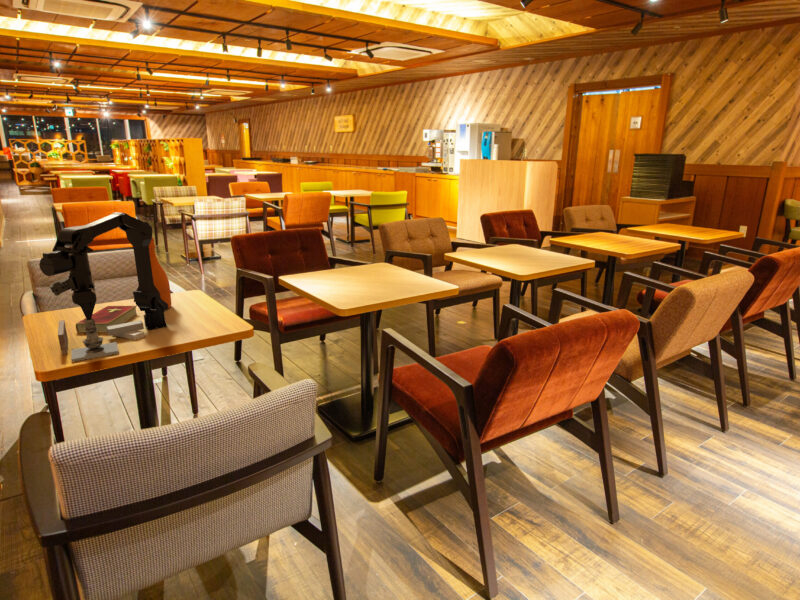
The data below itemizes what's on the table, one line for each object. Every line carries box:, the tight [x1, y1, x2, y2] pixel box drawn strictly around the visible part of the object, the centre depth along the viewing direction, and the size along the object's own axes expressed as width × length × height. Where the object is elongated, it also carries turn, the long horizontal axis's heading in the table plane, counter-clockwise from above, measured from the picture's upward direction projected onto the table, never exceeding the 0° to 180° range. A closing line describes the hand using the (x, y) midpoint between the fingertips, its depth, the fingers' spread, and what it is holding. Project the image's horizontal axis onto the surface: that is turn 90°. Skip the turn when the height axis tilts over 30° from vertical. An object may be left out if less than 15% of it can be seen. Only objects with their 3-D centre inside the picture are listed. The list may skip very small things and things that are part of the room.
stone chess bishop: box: [82, 318, 104, 353], centre depth 161 cm, size 6×6×12 cm
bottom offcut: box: [115, 330, 145, 341], centre depth 178 cm, size 4×12×2 cm, turn 66°
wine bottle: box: [149, 236, 172, 309], centre depth 204 cm, size 10×10×30 cm
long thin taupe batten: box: [57, 319, 69, 356], centre depth 167 cm, size 2×16×7 cm, turn 32°
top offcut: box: [106, 319, 145, 337], centre depth 177 cm, size 4×11×2 cm, turn 130°
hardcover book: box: [75, 305, 138, 333], centre depth 190 cm, size 12×21×4 cm, turn 1°
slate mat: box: [70, 341, 120, 363], centre depth 163 cm, size 13×9×1 cm
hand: (88, 315), depth 159 cm, fingers open, 9 cm apart
